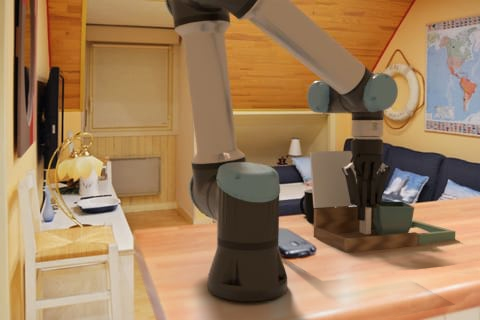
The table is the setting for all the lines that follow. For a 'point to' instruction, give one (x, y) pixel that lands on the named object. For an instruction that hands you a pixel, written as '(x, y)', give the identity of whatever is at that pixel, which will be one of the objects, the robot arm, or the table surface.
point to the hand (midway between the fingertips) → (365, 232)
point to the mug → (308, 205)
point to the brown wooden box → (354, 231)
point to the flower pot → (393, 217)
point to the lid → (330, 178)
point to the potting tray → (433, 233)
